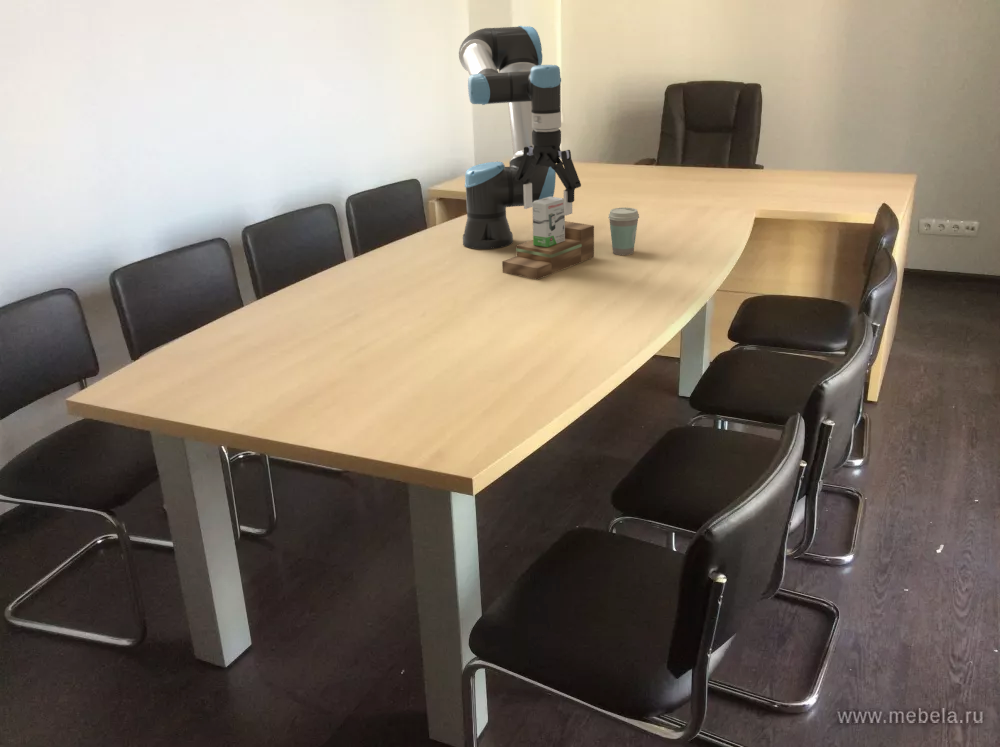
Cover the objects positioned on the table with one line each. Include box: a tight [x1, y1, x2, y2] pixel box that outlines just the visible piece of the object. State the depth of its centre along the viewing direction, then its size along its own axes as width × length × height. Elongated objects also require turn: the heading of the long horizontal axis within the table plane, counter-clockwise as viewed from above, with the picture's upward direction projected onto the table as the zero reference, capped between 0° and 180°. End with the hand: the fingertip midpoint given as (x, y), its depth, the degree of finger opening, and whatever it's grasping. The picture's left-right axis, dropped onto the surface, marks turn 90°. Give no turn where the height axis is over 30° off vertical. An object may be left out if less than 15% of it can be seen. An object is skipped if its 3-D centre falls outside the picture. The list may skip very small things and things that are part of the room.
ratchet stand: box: [501, 220, 595, 280], centre depth 228 cm, size 12×25×9 cm, turn 138°
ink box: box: [531, 196, 566, 247], centre depth 225 cm, size 9×5×12 cm, turn 140°
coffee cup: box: [608, 207, 640, 256], centre depth 236 cm, size 9×9×12 cm
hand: (547, 211), depth 225 cm, fingers open, 13 cm apart
